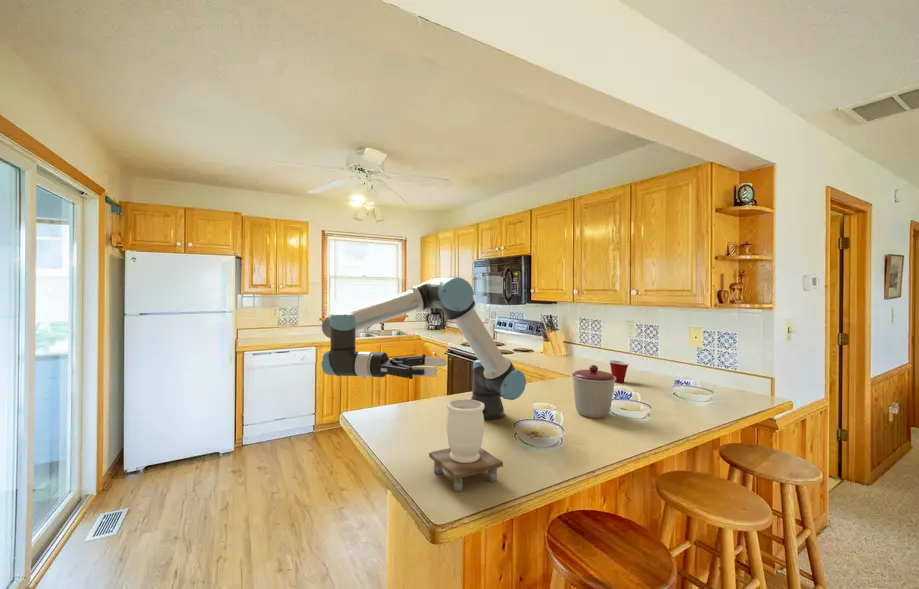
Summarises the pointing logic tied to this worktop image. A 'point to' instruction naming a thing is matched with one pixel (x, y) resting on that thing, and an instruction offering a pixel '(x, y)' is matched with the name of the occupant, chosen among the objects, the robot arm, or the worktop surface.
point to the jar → (465, 429)
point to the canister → (593, 392)
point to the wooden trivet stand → (465, 466)
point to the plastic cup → (618, 370)
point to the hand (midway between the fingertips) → (441, 366)
